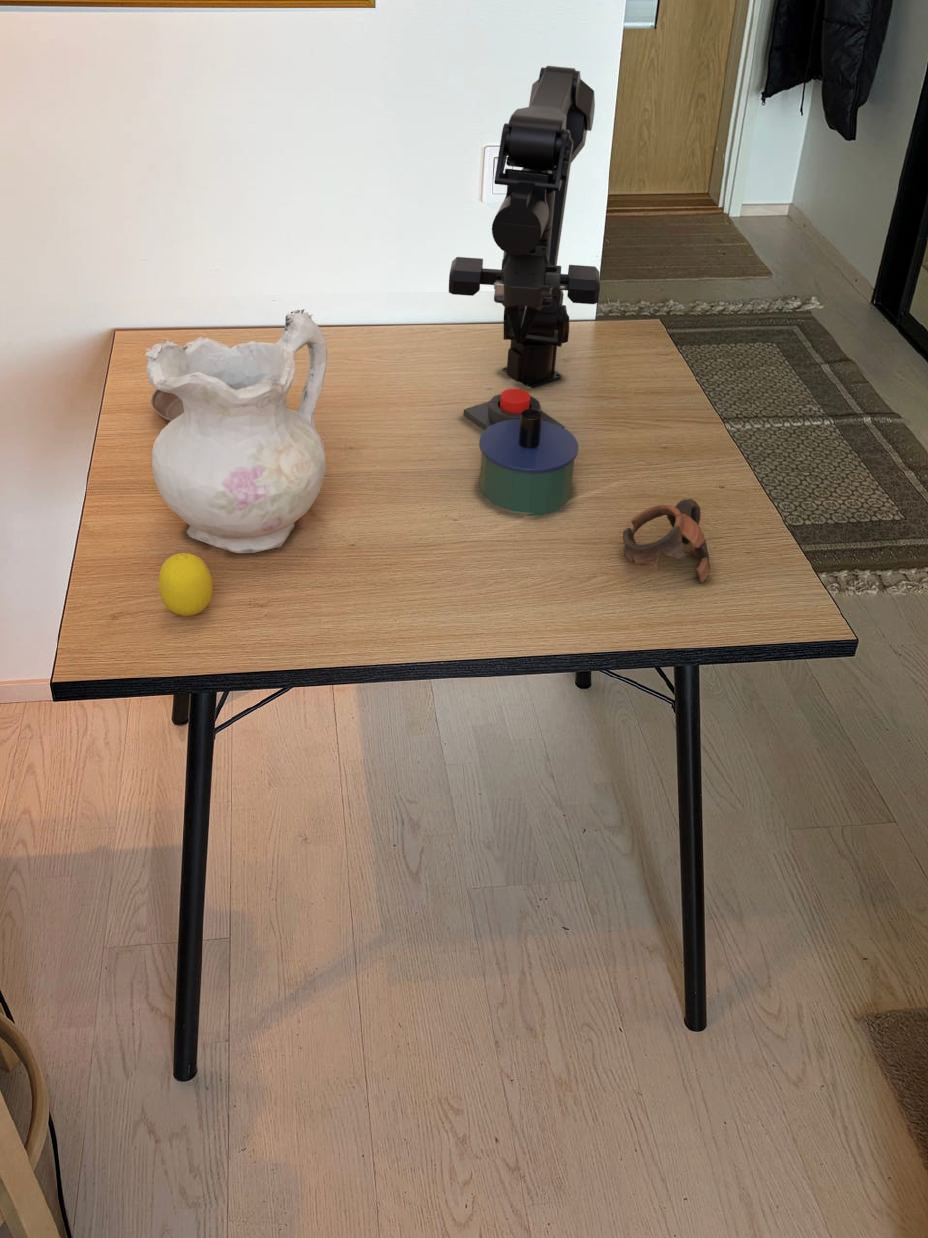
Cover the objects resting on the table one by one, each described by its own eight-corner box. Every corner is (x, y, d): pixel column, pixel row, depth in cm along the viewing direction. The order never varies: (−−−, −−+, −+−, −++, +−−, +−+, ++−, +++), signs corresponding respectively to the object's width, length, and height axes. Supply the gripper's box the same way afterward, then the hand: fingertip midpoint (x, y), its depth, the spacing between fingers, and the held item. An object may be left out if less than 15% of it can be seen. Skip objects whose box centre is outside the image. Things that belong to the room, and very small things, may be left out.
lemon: (171, 636, 123) (162, 575, 118) (157, 606, 126) (147, 546, 121) (222, 622, 125) (215, 562, 120) (206, 593, 128) (199, 534, 123)
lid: (536, 417, 150) (539, 381, 147) (598, 459, 143) (602, 422, 140) (459, 442, 145) (460, 406, 141) (519, 487, 137) (522, 450, 134)
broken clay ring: (703, 602, 132) (676, 550, 127) (630, 604, 138) (602, 555, 133) (734, 528, 138) (709, 476, 133) (663, 533, 144) (637, 483, 139)
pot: (532, 458, 154) (536, 415, 150) (588, 498, 147) (594, 454, 143) (462, 483, 148) (464, 439, 144) (517, 526, 141) (521, 481, 137)
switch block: (514, 402, 165) (516, 379, 163) (563, 435, 159) (566, 413, 156) (462, 418, 161) (464, 396, 159) (511, 454, 154) (513, 430, 152)
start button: (517, 397, 160) (518, 385, 159) (535, 409, 158) (536, 397, 156) (494, 404, 158) (494, 393, 157) (511, 417, 156) (512, 405, 155)
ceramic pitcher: (261, 467, 151) (234, 279, 136) (378, 510, 142) (362, 313, 127) (134, 543, 137) (88, 343, 122) (255, 596, 128) (221, 387, 113)
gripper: (446, 244, 136) (442, 366, 146) (606, 255, 136) (591, 377, 145) (454, 210, 145) (450, 327, 155) (604, 220, 144) (590, 337, 154)
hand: (519, 342), depth 152 cm, fingers closed
